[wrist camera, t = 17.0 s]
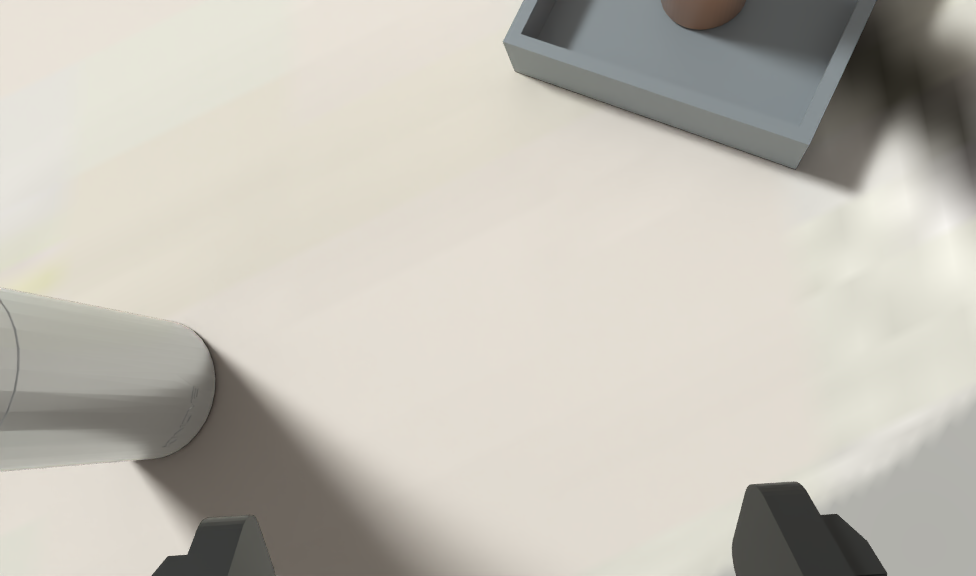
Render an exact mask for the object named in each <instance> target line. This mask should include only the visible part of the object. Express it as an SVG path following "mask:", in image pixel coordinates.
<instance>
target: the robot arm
mask: <svg viewBox="0 0 976 576" xmlns="http://www.w3.org/2000/svg"><path fill="white" fill-rule="evenodd" d="M214 393H215V372H214V366H213V361H212V358H211V356H210V353H209V350H208V348H207V347H206V345H205V344H204V342H203V341H202V339H201V338H200V337H199V336H198V335H197V334H196V333H195V332H194V331H193V330H191V329H190V328H188V327H186V326H184V325H183V324H180V323H176V322H172V321H168V320H163V319H158V318H153V317H148V316H143V315H138V314H133V313H129V312H124V311H118V310H113V309H108V308H103V307H98V306H93V305H88V304H83V303H78V302H73V301H67V300H62V299H57V298H52V297H47V296H42V295H37V294H32V293H27V292H21V291H16V290H11V289H6V288H1V287H0V472H2V471H14V470H26V469H38V468H50V467H62V466H74V465H85V464H97V463H111V462H123V461H134V460H146V459H155V458H161V457H165V456H168V455H170V454H172V453H175V452H177V451H178V450H180V449H181V448H182V447H184V446H185V445H187V444H188V443H189V442H190V441H191V440H192V439H193V438H194V437H195V435H196V434H197V433H198V432H199V430H200V429H201V427H202V426H203V424H204V422H205V421H206V419H207V416H208V414H209V411H210V409H211V406H212V402H213V397H214ZM732 557H733V564H734V569H735V573H736V576H887V572H886V571H885V569H884V568H883V566H882V564H881V563H880V561H879V559H878V558H877V556H876V555H875V553H874V551H873V550H872V548H871V546H870V545H869V543H868V542H867V540H865V539H864V538H863V537H862V536H861V535H860V534H859V533H857V531H855V530H854V529H853V528H852V527H851V526H850V525H849V524H848V523H846V522H845V521H844V520H843V519H842V518H841V517H840V516H839V515H837V514H829V515H820V514H819V512H818V510H817V508H816V507H815V505H814V503H813V501H812V500H811V498H810V496H809V495H808V493H807V491H806V490H805V488H804V487H803V486H802V485H801V484H800V483H798V482H781V483H765V484H751V485H749V486H748V487H747V489H746V492H745V495H744V499H743V503H742V507H741V511H740V515H739V519H738V522H737V526H736V530H735V534H734V538H733V543H732ZM152 576H275V571H274V568H273V565H272V562H271V559H270V556H269V553H268V550H267V547H266V544H265V541H264V538H263V536H262V533H261V530H260V527H259V524H258V521H257V519H256V517H255V516H254V515H243V516H227V517H212V518H205V519H204V520H203V521H202V522H201V523H200V525H199V526H198V529H197V531H196V534H195V536H194V539H193V542H192V544H191V547H190V549H189V552H188V555H178V556H168V557H167V558H166V559H165V560H164V561H163V563H162V564H161V565H160V566H159V567H158V569H157V570H156V571H155V572H154V573H153V575H152Z"/></svg>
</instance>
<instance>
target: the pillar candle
mask: <svg viewBox="0 0 976 576" xmlns="http://www.w3.org/2000/svg"><path fill="white" fill-rule="evenodd" d="M661 3H662V7H663V9H664V11H665V12H666V14H667V15H668V16H669V17H670V18H671V19H672V20H673V21H674V22H676V23H677V24H679V25H681V26H683V27H686V28H690V29H698V30H703V29H711V28H715V27H718V26H721V25H723V24H725V23H727V22H729V21H730V20H732V19H733V18H734V17H735V16H736V15H737V14H738V13H739V12H740V11H741V9H742V8H743V7H744V5H745V3H746V0H661Z"/></svg>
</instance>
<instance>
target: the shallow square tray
mask: <svg viewBox="0 0 976 576" xmlns="http://www.w3.org/2000/svg"><path fill="white" fill-rule="evenodd" d="M876 1H877V0H746V3H745V5H744V7H743V8H742V9H741V11H740V12H739V13H738V14H737V15H736V16H735V17H734V18H733V19H732V20H730V21H729V22H727V23H725V24H723V25H721V26H718V27H715V28H711V29H703V30H698V29H690V28H686V27H683V26H681V25H679V24H677V23H676V22H674V21H673V20H672V19H671V18H670V17H669V16H668V15H667V14H666V12H665V11H664V9H663V7H662V3H661V0H524V1H523V3H522V5H521V7H520V9H519V11H518V13H517V15H516V17H515V19H514V21H513V23H512V25H511V27H510V29H509V31H508V33H507V35H506V37H505V39H504V41H503V43H504V46H505V48H506V51H507V53H508V56H509V58H510V61H511V63H512V65H513V68H514V70H515V71H516V72H519V73H522V74H524V75H527V76H530V77H533V78H536V79H539V80H542V81H544V82H547V83H550V84H553V85H556V86H559V87H562V88H564V89H567V90H570V91H573V92H576V93H579V94H582V95H584V96H587V97H590V98H593V99H596V100H599V101H602V102H604V103H607V104H610V105H613V106H616V107H619V108H622V109H624V110H627V111H630V112H633V113H636V114H639V115H642V116H644V117H647V118H650V119H653V120H656V121H659V122H662V123H664V124H667V125H670V126H673V127H676V128H679V129H682V130H684V131H687V132H690V133H693V134H696V135H699V136H702V137H704V138H707V139H710V140H713V141H716V142H719V143H722V144H724V145H727V146H730V147H733V148H736V149H739V150H742V151H744V152H747V153H750V154H753V155H756V156H759V157H761V158H764V159H767V160H770V161H773V162H776V163H779V164H781V165H784V166H787V167H790V168H793V169H796V168H797V166H798V164H799V162H800V161H801V159H802V157H803V155H804V154H805V152H806V150H807V148H808V147H809V145H810V143H811V141H812V138H813V136H814V134H815V132H816V130H817V128H818V125H819V123H820V121H821V119H822V117H823V115H824V113H825V110H826V108H827V106H828V104H829V102H830V100H831V97H832V95H833V93H834V91H835V89H836V87H837V85H838V82H839V80H840V78H841V76H842V74H843V72H844V69H845V67H846V65H847V63H848V61H849V59H850V57H851V54H852V52H853V50H854V48H855V46H856V44H857V41H858V39H859V37H860V35H861V33H862V31H863V29H864V26H865V24H866V22H867V20H868V18H869V16H870V13H871V11H872V9H873V7H874V5H875V3H876Z"/></svg>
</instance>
